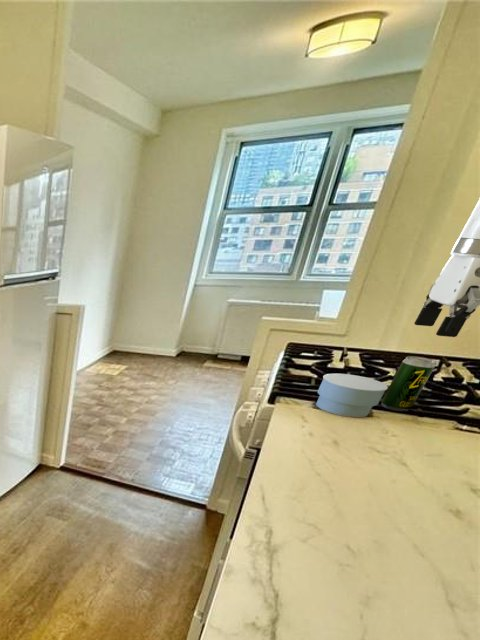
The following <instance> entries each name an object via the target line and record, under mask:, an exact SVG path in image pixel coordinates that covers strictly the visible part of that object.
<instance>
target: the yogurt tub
mask: <svg viewBox="0 0 480 640" xmlns="http://www.w3.org/2000/svg"><path fill="white" fill-rule="evenodd" d="M388 388H389V386H388V385H387V384H385V383H383V382H382V381H380V380H376V379H373V378H370V377H365V376H362V375H361V376H360V375H355V374H349V373H326V374H324V375H323V376H322V381H321V383H320V385H319V387H318V390H317V394H318V395H319V396H318V399H317V400H316V402H315V406H316V407H318V408H319V409H321V410H322V411H325V412H327V413H330V414H334V415H338V416H341V417H343V416H344V417H349V418H350V417H351V418H365V417H367V416H368V415H369V414H370V412H371V410H372V408H373V407H375V406H378V405H379V403H380V401H381V400H382V399H383V397H384V395H385V393H386V391H387V390H388Z"/></svg>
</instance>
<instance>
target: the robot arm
mask: <svg viewBox="0 0 480 640" xmlns="http://www.w3.org/2000/svg"><path fill="white" fill-rule="evenodd" d="M450 255H451V256H450V258H449V259H448V261H447V262H446V263H445V265H444V267H443V268H442V270H441V271H440V273H439V275H438V276H437V278H436V279H435V282H434V284H432V285H430V288H429V291H428V294H427V295H426V297H425V299H426V300H425V301H424V302H423V304H422V308H421V310H420V312H419V313H418V315H417V317H416V319H415V321H414V325H415V326H420V327H421V326H422V327H433V326H434V325H435V323H436V321H437V320H438V318H439V316H440V314H441V313H442V311H443V308H442V307H443V306H446V307H449V312H448V316H445V317H444V319H443V320H442V322H441V324H440V326H439V327H438V328H437V329H438V330H437V331H436V333H435V335H436V336H438V337H448V338H456V337H457V336H458V335H459V333H460V332H461V330H462V328H463V326H464V325H465V323H466V321H467V320H468V319H470V317H471V315H472V314H473V313H474V312H476V309H477V308H479V307H480V198H479V199H478V201H477V203H476V205H475V206H474V209H473V211H472V212H471V214H470V217H469V218H468V220H467V222H466V224H465V225H464V228H463V229H462V231H461V232H460V235H459V237H458V238H457V240H456V242H455V244H454V246H453V248H452V250H451V252H450Z"/></svg>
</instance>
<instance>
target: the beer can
mask: <svg viewBox="0 0 480 640" xmlns="http://www.w3.org/2000/svg"><path fill="white" fill-rule="evenodd" d="M436 363H437V361H435V360H434V359H431V358H427V357H421V356H413V355H412V356H411V355H409V356H405V359H404V360H402V361H401V363H400V365H399V367H398V368H397V370H396V373H395V374H394V376H393V378H392V380H391V382H390V384H389V386H388V389H387V390H386V391H385V393H384V395H383V396H382V398H381V400H380V401H381V402H380V403H381V404H380V405H381V407H382V408H385V409H387V410H391V411H395V412H409V411H410V410H411V409H412V408H413V407H412V406H414V405H415V403H416V402H417V400H418V398H419V396H420V395H421V393H422V391H423V389H424V387H425V385H426V383H427V382H428V380H429V378H430V376H431V375H432V373H433V371H434V369H435V367H436ZM410 407H412V408H410Z"/></svg>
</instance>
